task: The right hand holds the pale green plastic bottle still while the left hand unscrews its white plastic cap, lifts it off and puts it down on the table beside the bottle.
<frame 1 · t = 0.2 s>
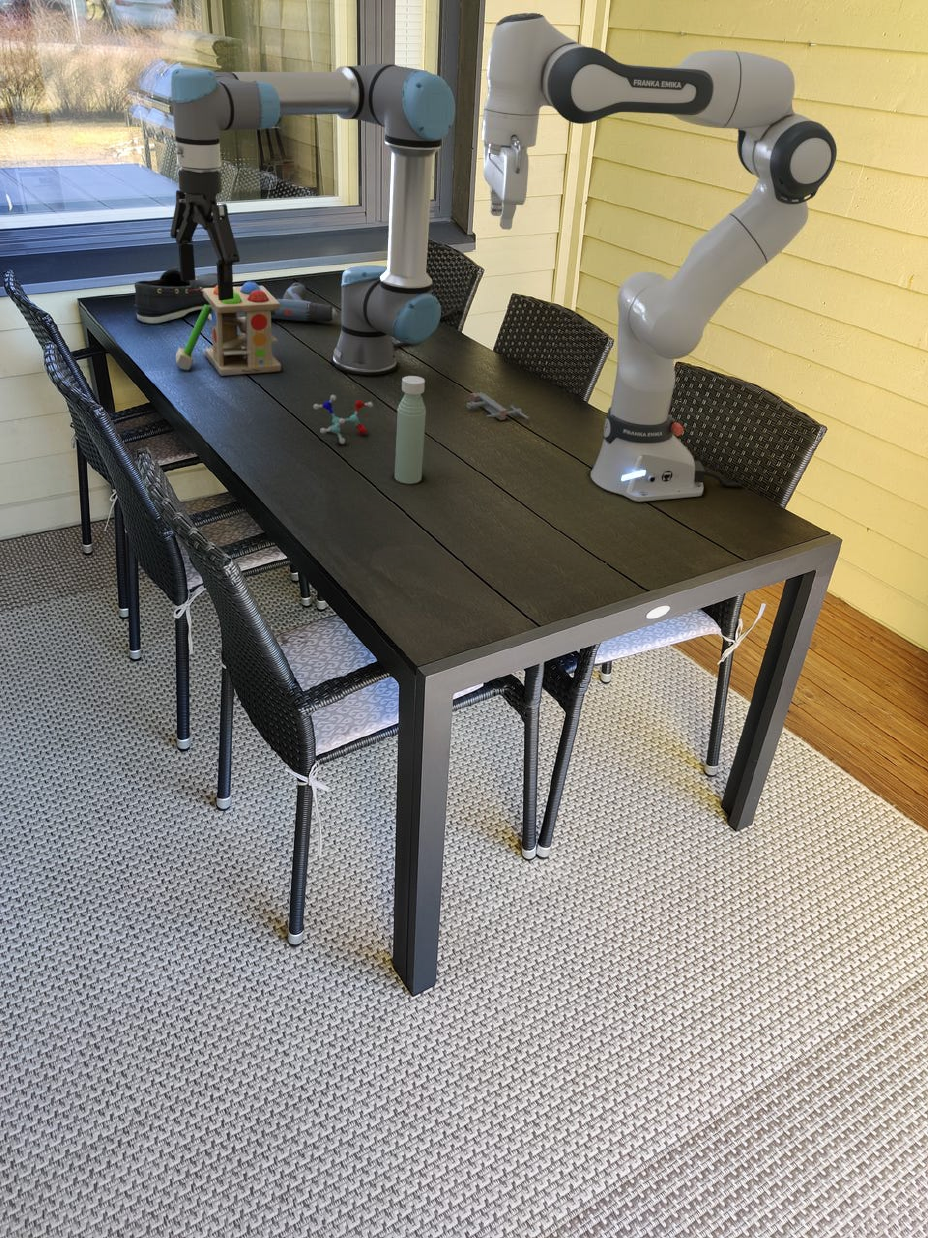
left hand: (206, 289, 186), 28 cm above the table, tool pointing down, fingers open, 13 cm apart
right hand: (500, 221, 165), 48 cm above the table, tool pointing down, fingers open, 8 cm apart
pounding bench toy: (225, 365, 230), on the table
clamp: (493, 414, 219), on the table
molecular model: (339, 435, 203), on the table
boat shoe: (183, 307, 262), on the table
bottle: (408, 477, 190), on the table
cap: (413, 381, 179), point 19 cm above the table, screwed on, not yet turned
power drill: (305, 313, 267), on the table
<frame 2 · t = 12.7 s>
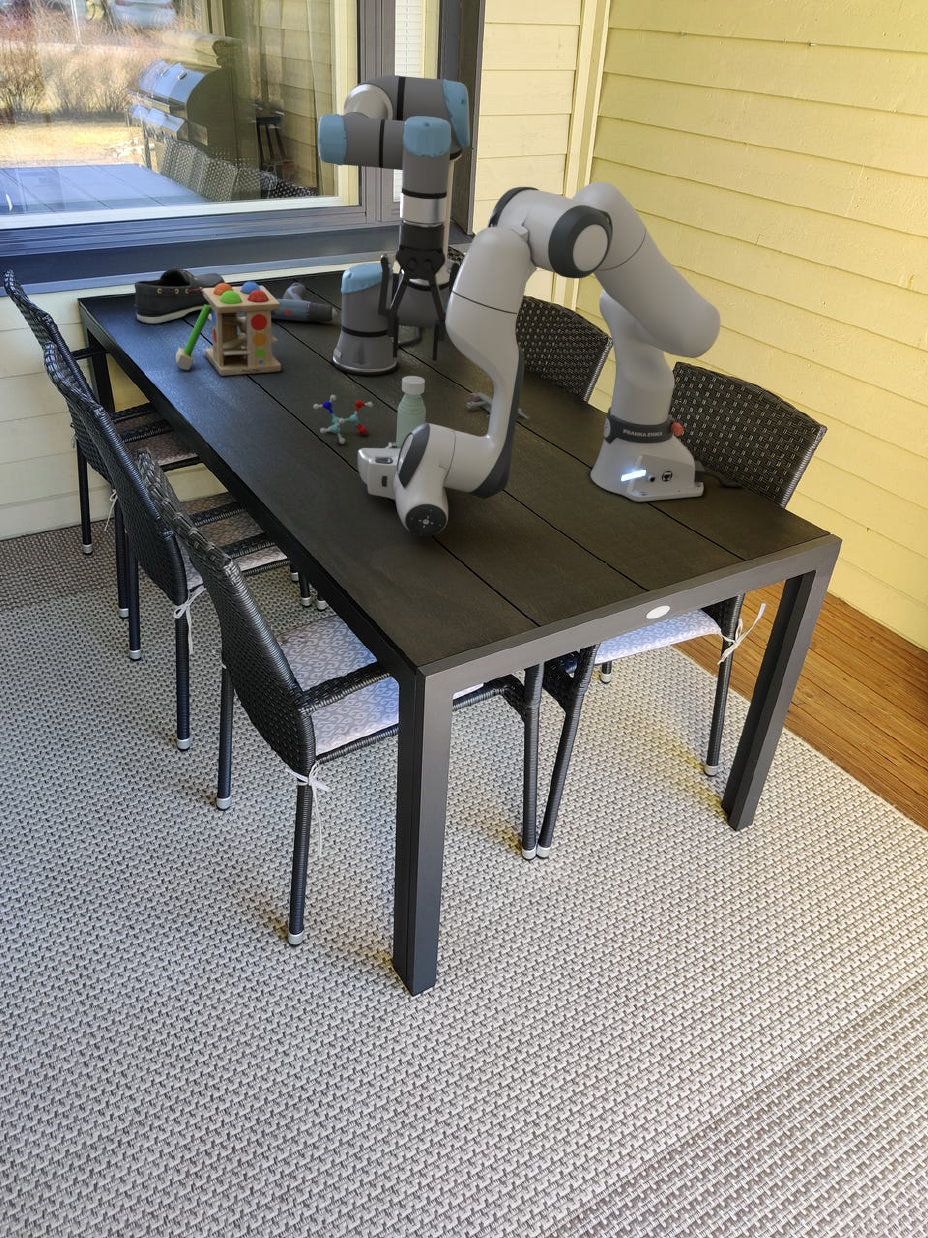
left hand: (414, 356, 176), 24 cm above the table, tool pointing down, fingers open, 6 cm apart
right hand: (409, 446, 187), 6 cm above the table, tool horizontal, fingers closed on bottle, 5 cm apart
bottle: (408, 477, 190), on the table, touching right hand
everything else where it was.
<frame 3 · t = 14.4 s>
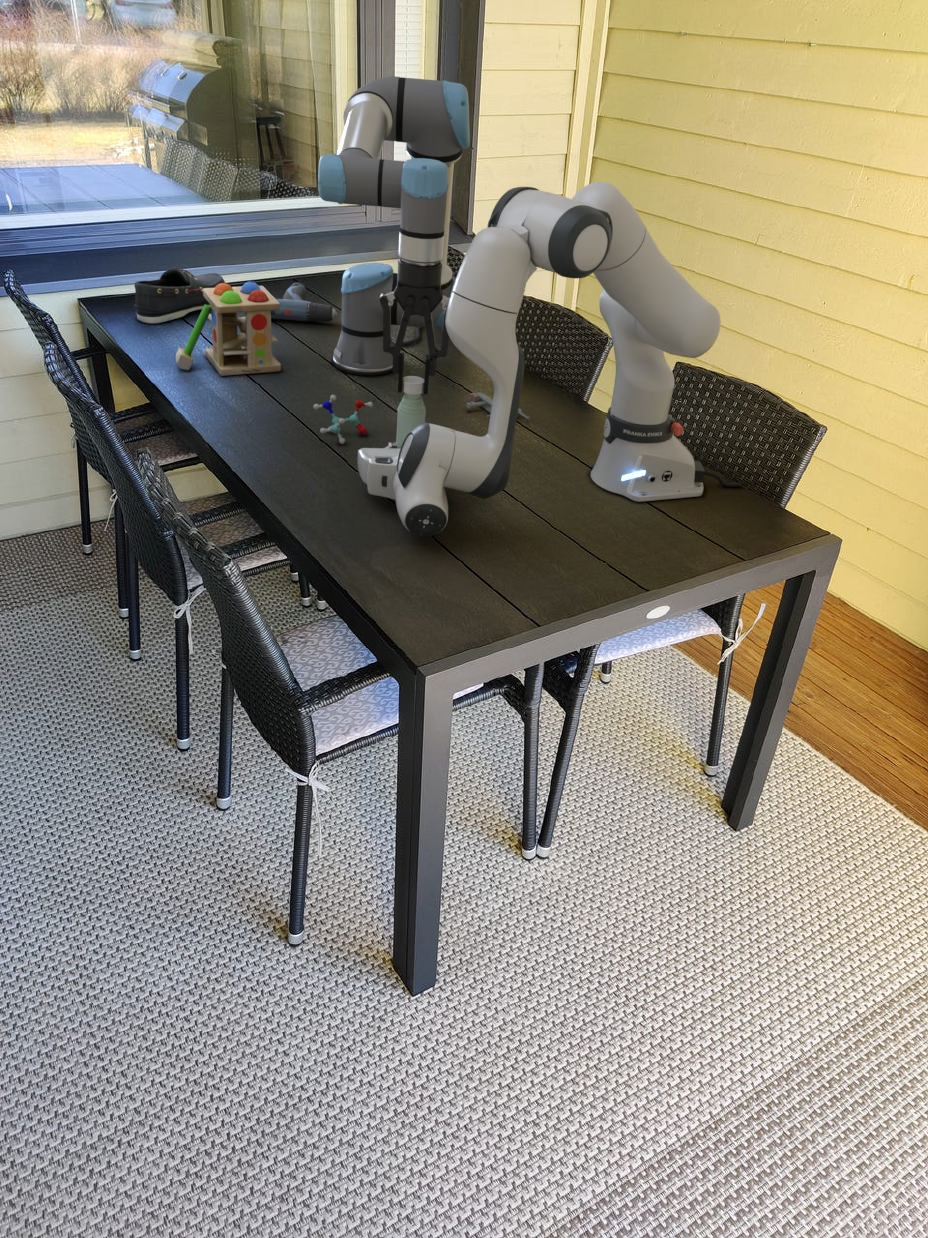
left hand: (412, 390, 180), 18 cm above the table, tool pointing down, fingers closed on cap, 4 cm apart
right hand: (408, 446, 187), 6 cm above the table, tool horizontal, fingers closed on bottle, 5 cm apart
bottle: (407, 477, 190), on the table, touching right hand
cap: (413, 381, 179), point 19 cm above the table, screwed on, not yet turned, touching left hand
everything else where it was.
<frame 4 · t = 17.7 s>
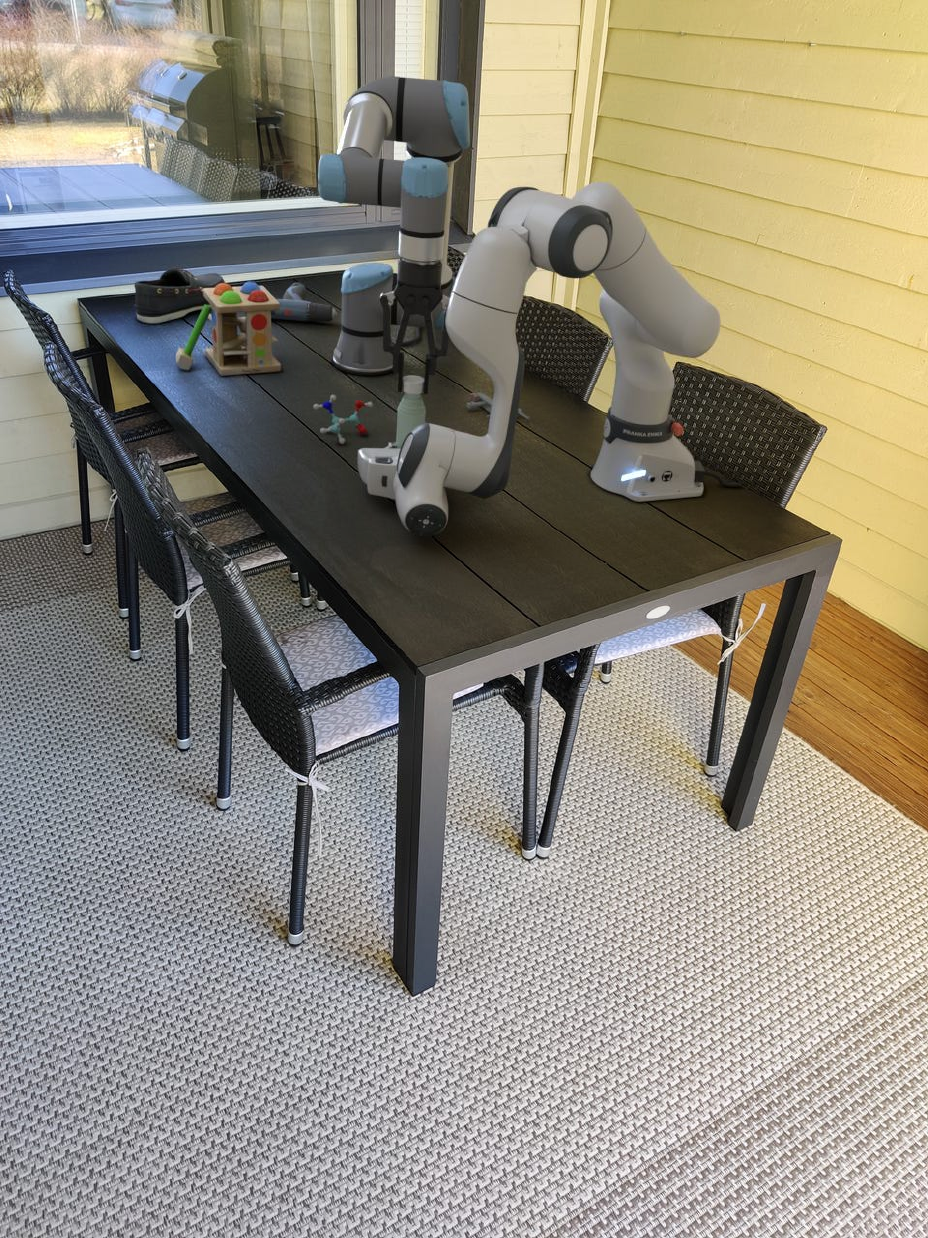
left hand: (413, 390, 180), 18 cm above the table, tool pointing down, fingers closed on cap, 4 cm apart
right hand: (408, 446, 187), 6 cm above the table, tool horizontal, fingers closed on bottle, 5 cm apart
bottle: (407, 477, 190), on the table, touching right hand
cap: (413, 380, 179), point 20 cm above the table, turned 99° so far, risen 0.1 cm, still on its thread, touching left hand
everything else where it was.
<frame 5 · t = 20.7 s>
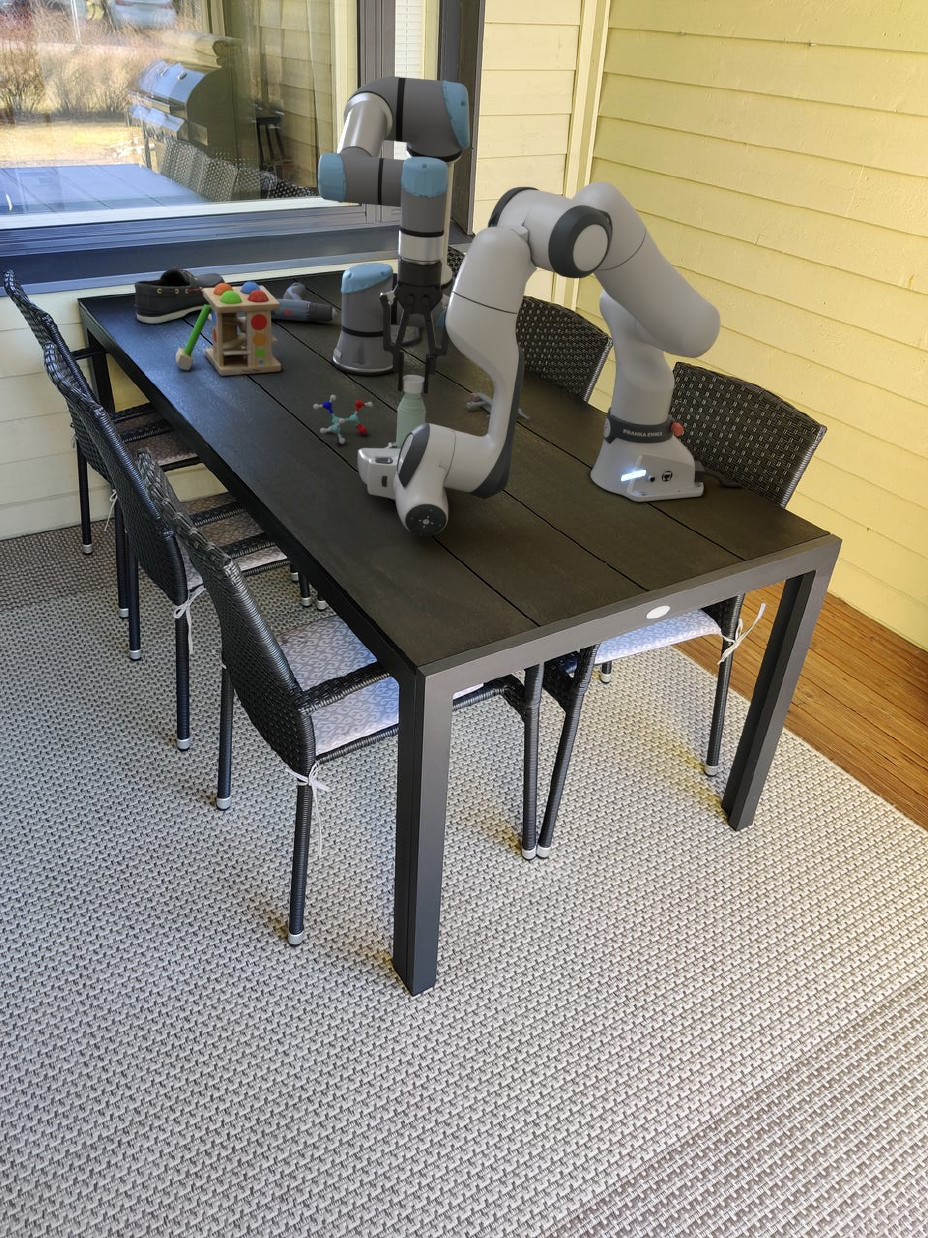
left hand: (413, 389, 180), 18 cm above the table, tool pointing down, fingers closed on cap, 4 cm apart
right hand: (408, 446, 187), 6 cm above the table, tool horizontal, fingers closed on bottle, 5 cm apart
bottle: (407, 477, 190), on the table, touching right hand
cap: (413, 380, 179), point 20 cm above the table, turned 199° so far, risen 0.2 cm, still on its thread, touching left hand
everything else where it was.
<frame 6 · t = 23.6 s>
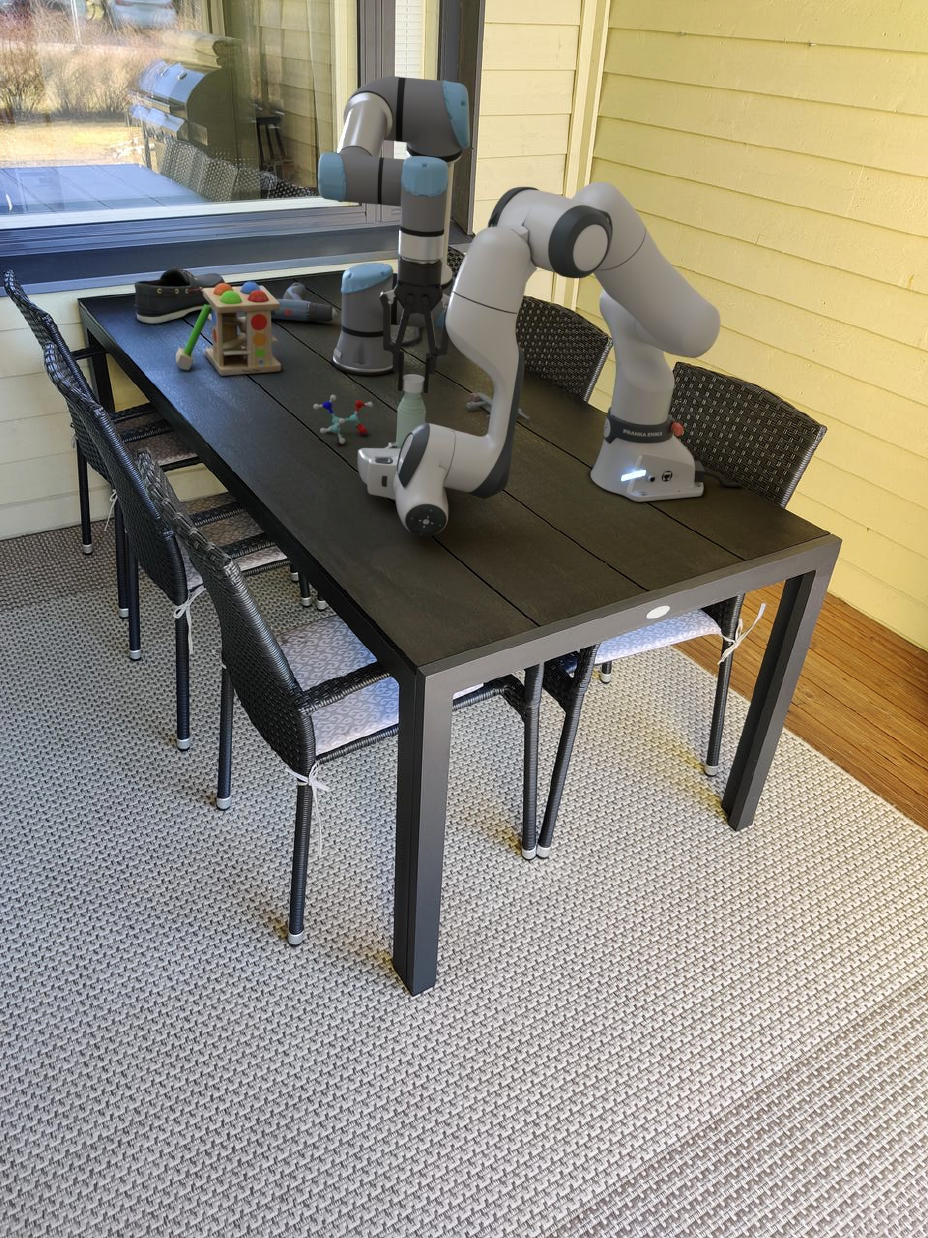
left hand: (413, 388, 180), 18 cm above the table, tool pointing down, fingers closed on cap, 4 cm apart
right hand: (408, 446, 187), 6 cm above the table, tool horizontal, fingers closed on bottle, 5 cm apart
bottle: (407, 477, 190), on the table, touching right hand
cap: (413, 379, 179), point 20 cm above the table, turned 298° so far, risen 0.3 cm, still on its thread, touching left hand
everything else where it was.
when the left hand's fingers open (1 cm above the table, at t = 30.9 s): cap stays where it is, point 2 cm above the table.
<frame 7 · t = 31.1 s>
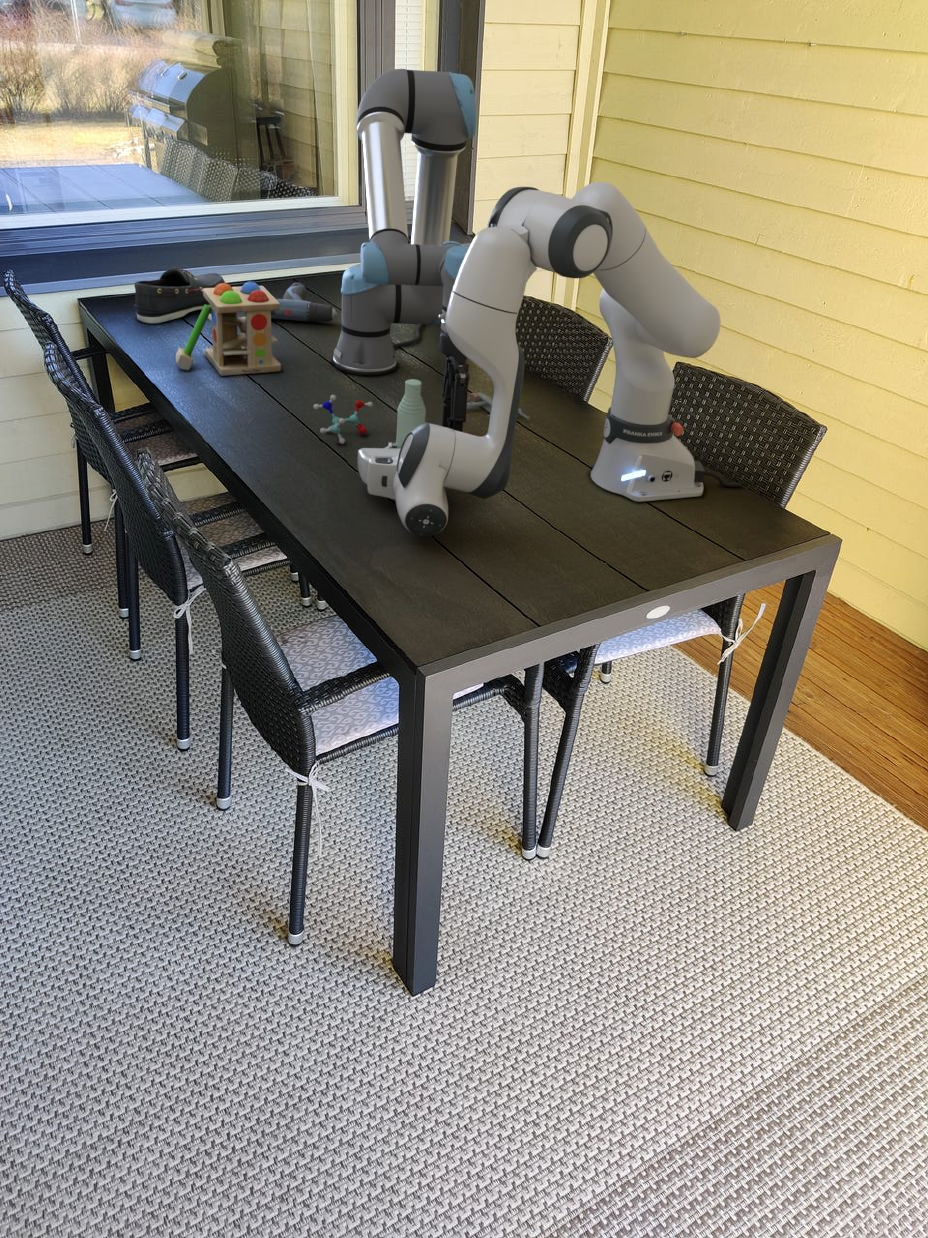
left hand: (450, 442, 202), 1 cm above the table, tool pointing down, fingers open, 7 cm apart
right hand: (408, 446, 187), 6 cm above the table, tool horizontal, fingers closed on bottle, 5 cm apart
bottle: (407, 477, 190), on the table, touching right hand
cap: (451, 439, 202), point 2 cm above the table, off its thread
everything else where it was.
when the right hand's fingers open (6 cm above the table, at t = 32.2 s): bottle stays where it is, on the table.
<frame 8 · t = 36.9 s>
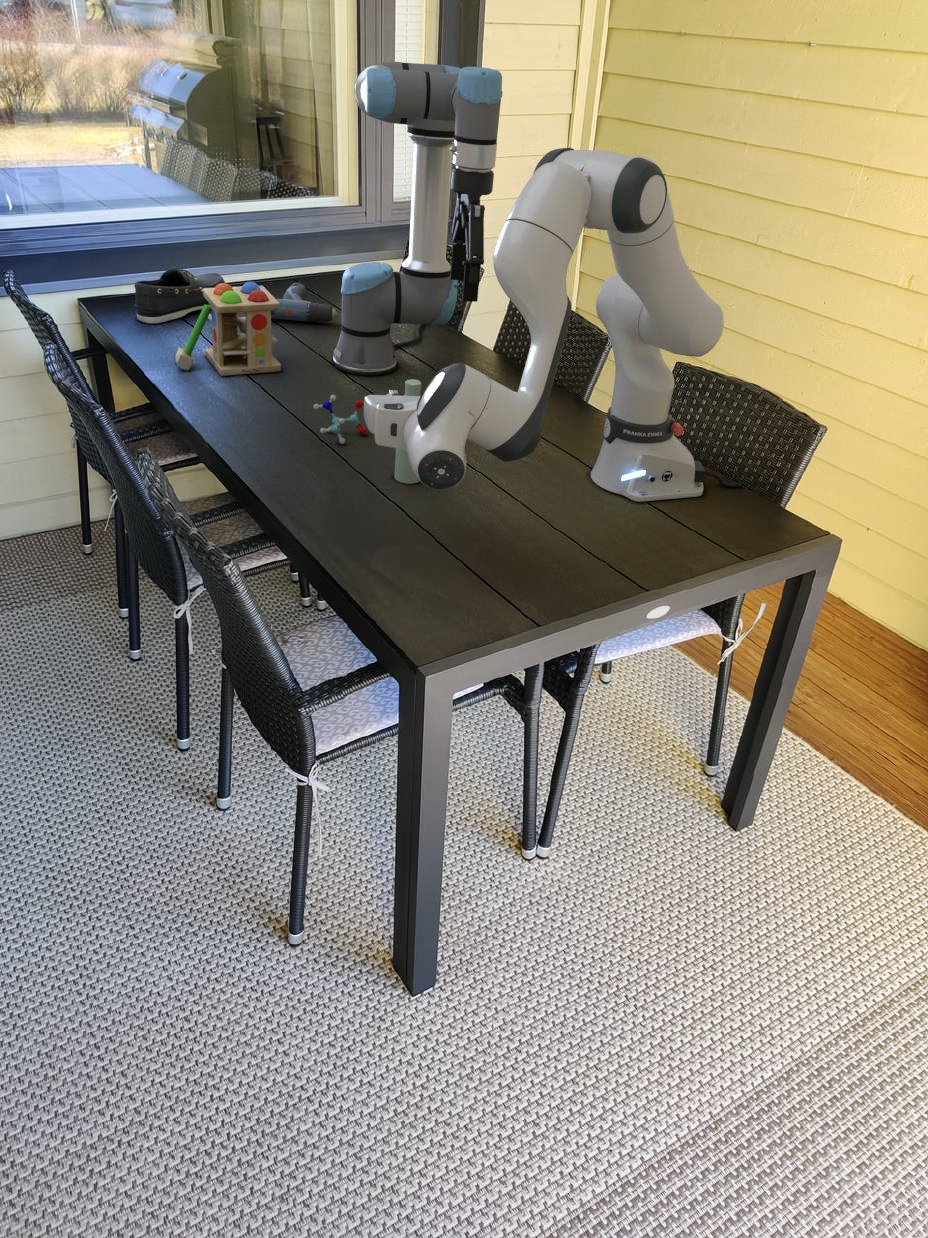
left hand: (463, 289, 185), 32 cm above the table, tool pointing down, fingers open, 13 cm apart
right hand: (420, 394, 168), 21 cm above the table, tool horizontal, fingers open, 8 cm apart
bottle: (407, 477, 190), on the table
everything else where it was.
at the end: cap came off its thread; cap point 1.7 cm above the table; the left hand is holding nothing; the right hand is holding nothing; bottle tilted 0°; bottle moved 0.0 cm from its start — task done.
